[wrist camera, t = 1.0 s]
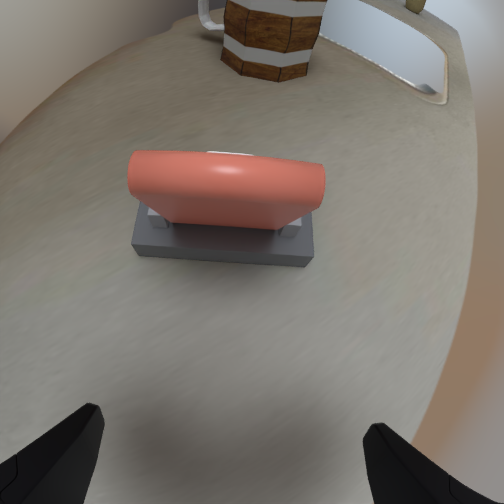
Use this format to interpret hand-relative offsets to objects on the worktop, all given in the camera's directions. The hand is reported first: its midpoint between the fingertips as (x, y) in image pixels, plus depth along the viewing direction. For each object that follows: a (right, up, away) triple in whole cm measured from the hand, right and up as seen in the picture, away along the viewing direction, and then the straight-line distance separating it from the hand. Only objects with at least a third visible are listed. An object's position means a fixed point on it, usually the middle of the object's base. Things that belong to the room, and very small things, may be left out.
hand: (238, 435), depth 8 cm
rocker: (-2, +9, +15) cm, 17 cm away
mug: (0, +36, +29) cm, 46 cm away
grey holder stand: (-2, +9, +18) cm, 20 cm away
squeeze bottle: (+67, +106, +64) cm, 141 cm away
